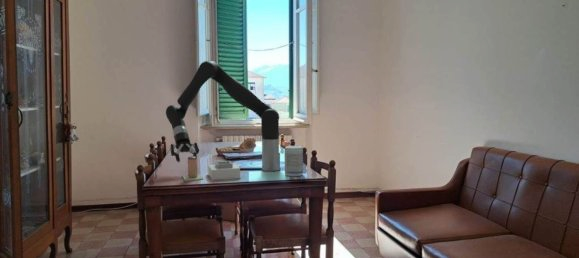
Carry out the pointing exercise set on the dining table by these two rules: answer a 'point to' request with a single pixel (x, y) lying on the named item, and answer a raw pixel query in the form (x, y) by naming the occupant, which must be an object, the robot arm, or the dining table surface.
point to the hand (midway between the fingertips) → (187, 160)
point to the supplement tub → (293, 160)
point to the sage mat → (192, 178)
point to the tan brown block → (192, 167)
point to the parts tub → (224, 170)
